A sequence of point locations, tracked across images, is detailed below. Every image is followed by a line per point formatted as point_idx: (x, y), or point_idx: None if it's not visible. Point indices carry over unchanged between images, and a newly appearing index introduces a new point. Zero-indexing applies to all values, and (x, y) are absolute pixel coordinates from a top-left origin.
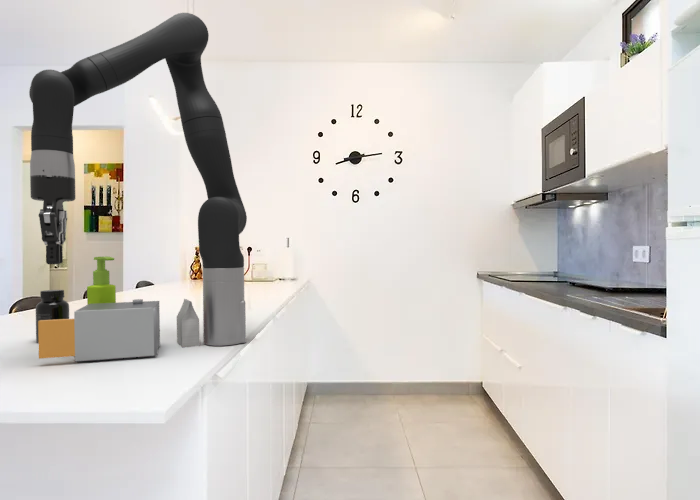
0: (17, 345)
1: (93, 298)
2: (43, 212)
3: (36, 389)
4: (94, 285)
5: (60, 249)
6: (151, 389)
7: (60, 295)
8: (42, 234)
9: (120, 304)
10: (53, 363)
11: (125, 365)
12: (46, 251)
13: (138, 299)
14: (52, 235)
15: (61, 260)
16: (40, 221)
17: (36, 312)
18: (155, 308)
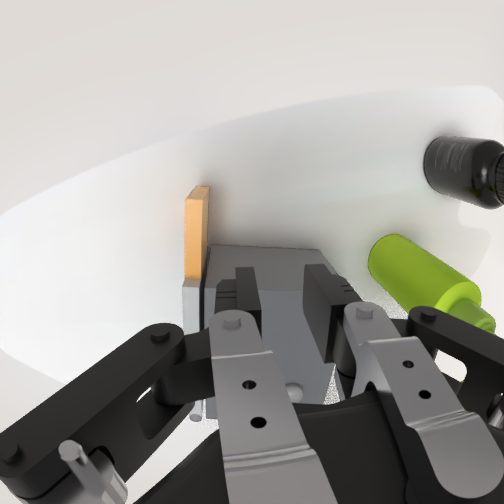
0: (425, 106)
1: (420, 288)
2: (9, 489)
3: (56, 223)
4: (450, 303)
5: (318, 343)
6: (44, 347)
7: (500, 198)
8: (115, 355)
9: (291, 362)
10: (217, 203)
11: (158, 321)
12: (236, 293)
13: (297, 397)
14: (159, 395)
15: (305, 314)
16: (28, 416)
17: (475, 141)
18: (191, 419)
